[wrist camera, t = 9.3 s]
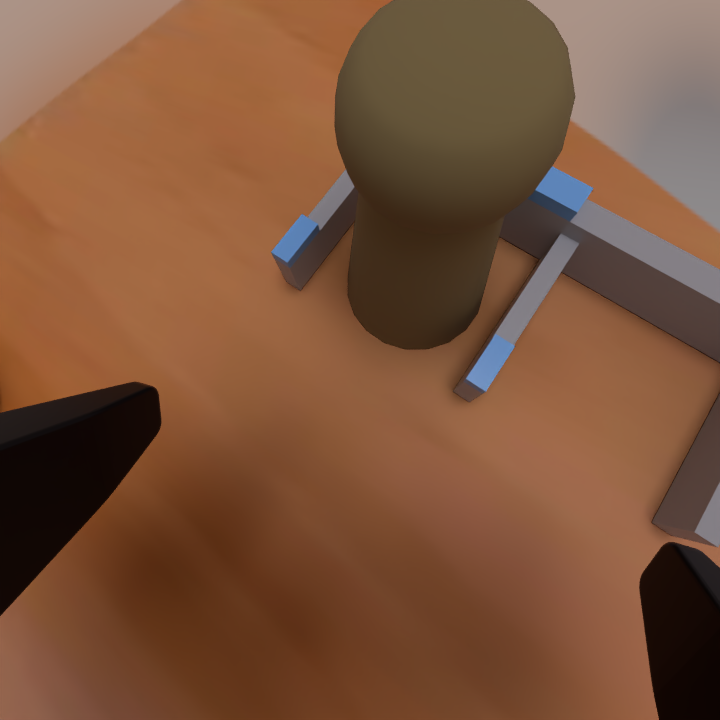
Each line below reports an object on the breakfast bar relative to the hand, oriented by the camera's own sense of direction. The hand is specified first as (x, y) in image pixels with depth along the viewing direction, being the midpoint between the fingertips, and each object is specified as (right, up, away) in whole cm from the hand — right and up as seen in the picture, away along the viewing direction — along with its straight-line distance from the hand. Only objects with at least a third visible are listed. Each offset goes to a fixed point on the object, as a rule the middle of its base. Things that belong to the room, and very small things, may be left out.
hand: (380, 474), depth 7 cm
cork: (+2, +5, +11) cm, 13 cm away
